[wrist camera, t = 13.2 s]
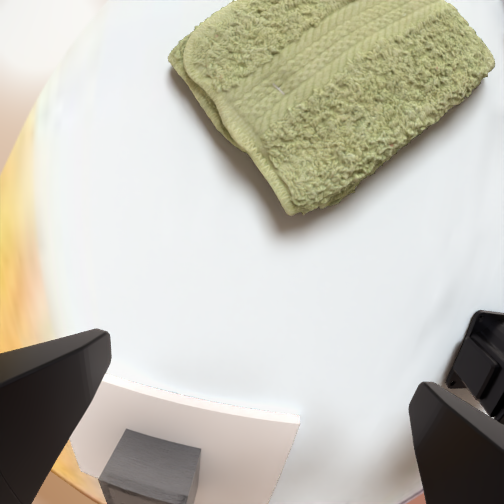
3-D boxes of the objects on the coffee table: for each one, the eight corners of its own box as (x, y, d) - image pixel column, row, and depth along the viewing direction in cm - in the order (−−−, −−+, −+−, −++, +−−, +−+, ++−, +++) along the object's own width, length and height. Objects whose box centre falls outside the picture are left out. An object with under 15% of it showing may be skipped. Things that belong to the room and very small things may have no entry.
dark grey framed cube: (201, 448, 22) (185, 506, 16) (198, 487, 23) (185, 537, 18) (126, 428, 22) (98, 479, 16) (132, 469, 24) (111, 515, 18)
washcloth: (163, 66, 17) (143, 49, 14) (369, -57, 13) (379, -81, 10) (300, 229, 19) (305, 241, 15) (491, 81, 15) (517, 72, 12)
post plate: (299, 415, 21) (302, 465, 16) (261, 511, 25) (258, 548, 20) (56, 355, 22) (22, 386, 17) (84, 465, 26) (66, 495, 21)
